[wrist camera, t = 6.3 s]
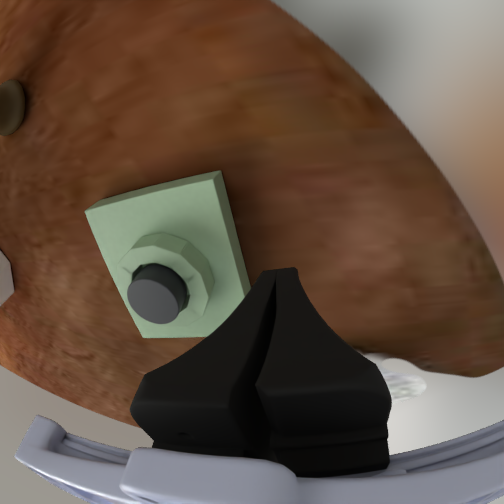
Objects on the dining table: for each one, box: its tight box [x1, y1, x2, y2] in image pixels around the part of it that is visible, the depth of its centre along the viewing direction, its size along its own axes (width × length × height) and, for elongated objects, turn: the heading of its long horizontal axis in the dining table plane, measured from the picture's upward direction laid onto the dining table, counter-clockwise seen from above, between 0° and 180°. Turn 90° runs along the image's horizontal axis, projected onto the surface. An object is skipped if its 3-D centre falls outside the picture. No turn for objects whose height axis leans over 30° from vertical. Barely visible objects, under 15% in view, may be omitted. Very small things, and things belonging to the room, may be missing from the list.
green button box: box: [85, 170, 251, 338], centre depth 21 cm, size 12×10×4 cm
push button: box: [127, 264, 187, 324], centre depth 19 cm, size 4×4×2 cm
